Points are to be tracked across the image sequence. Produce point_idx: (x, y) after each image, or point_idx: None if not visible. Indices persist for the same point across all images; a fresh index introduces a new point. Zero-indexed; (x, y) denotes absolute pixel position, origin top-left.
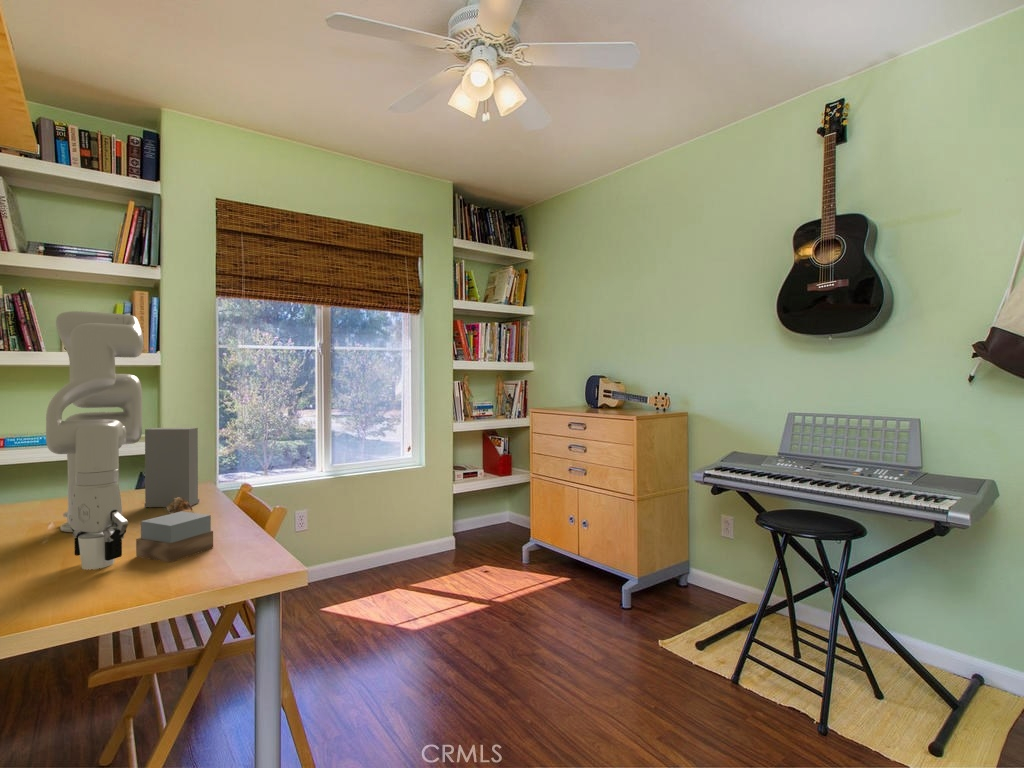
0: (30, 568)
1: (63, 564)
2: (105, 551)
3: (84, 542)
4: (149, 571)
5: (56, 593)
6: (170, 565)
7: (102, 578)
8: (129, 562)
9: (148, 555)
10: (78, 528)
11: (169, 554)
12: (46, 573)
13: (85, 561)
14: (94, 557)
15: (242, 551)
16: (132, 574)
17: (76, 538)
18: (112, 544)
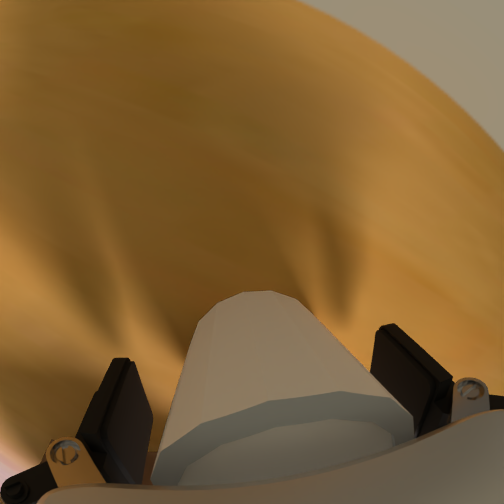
0: (476, 192)
1: (418, 279)
2: (106, 388)
3: (248, 384)
4: (3, 369)
5: (31, 72)
6: (22, 420)
7: (36, 257)
8: (165, 415)
9: (149, 461)
10: (418, 462)
11: (45, 459)
12: (371, 174)
13: (242, 309)
14: (195, 347)
15: None
16: (6, 332)
17: (437, 382)
18: (78, 434)
